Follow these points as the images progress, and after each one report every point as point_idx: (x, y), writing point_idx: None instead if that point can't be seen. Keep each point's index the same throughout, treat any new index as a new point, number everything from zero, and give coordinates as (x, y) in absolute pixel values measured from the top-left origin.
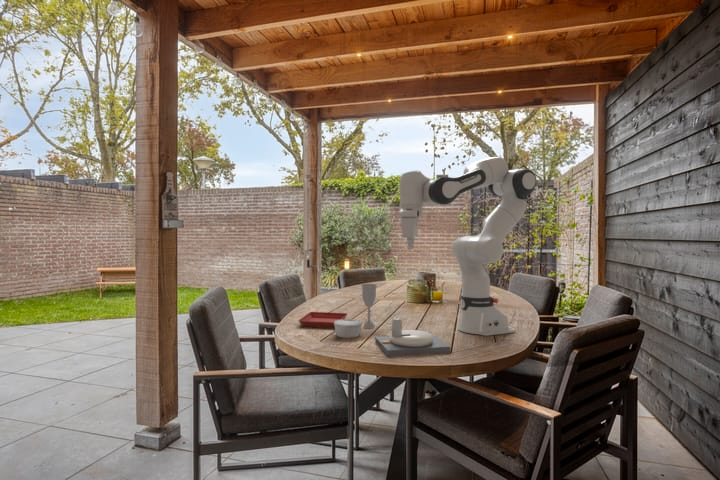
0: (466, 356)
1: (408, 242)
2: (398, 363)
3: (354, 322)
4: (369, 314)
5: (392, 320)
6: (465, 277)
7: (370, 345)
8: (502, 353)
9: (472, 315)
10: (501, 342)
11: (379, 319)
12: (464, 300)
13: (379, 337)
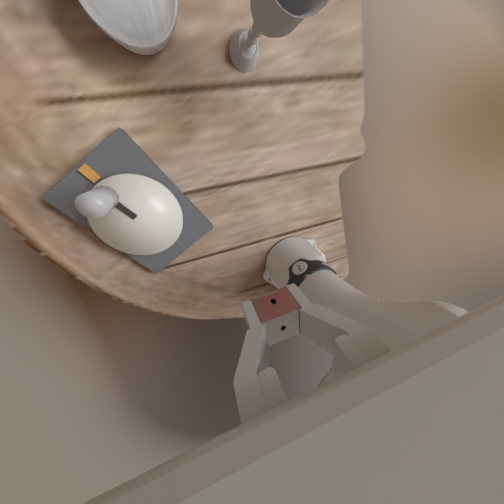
0: (154, 289)
1: (242, 357)
2: (29, 228)
3: (134, 13)
4: (252, 37)
5: (76, 198)
6: (326, 306)
7: (90, 126)
8: (194, 311)
9: (280, 275)
10: (241, 297)
11: (325, 55)
12: (298, 276)
13: (121, 140)
